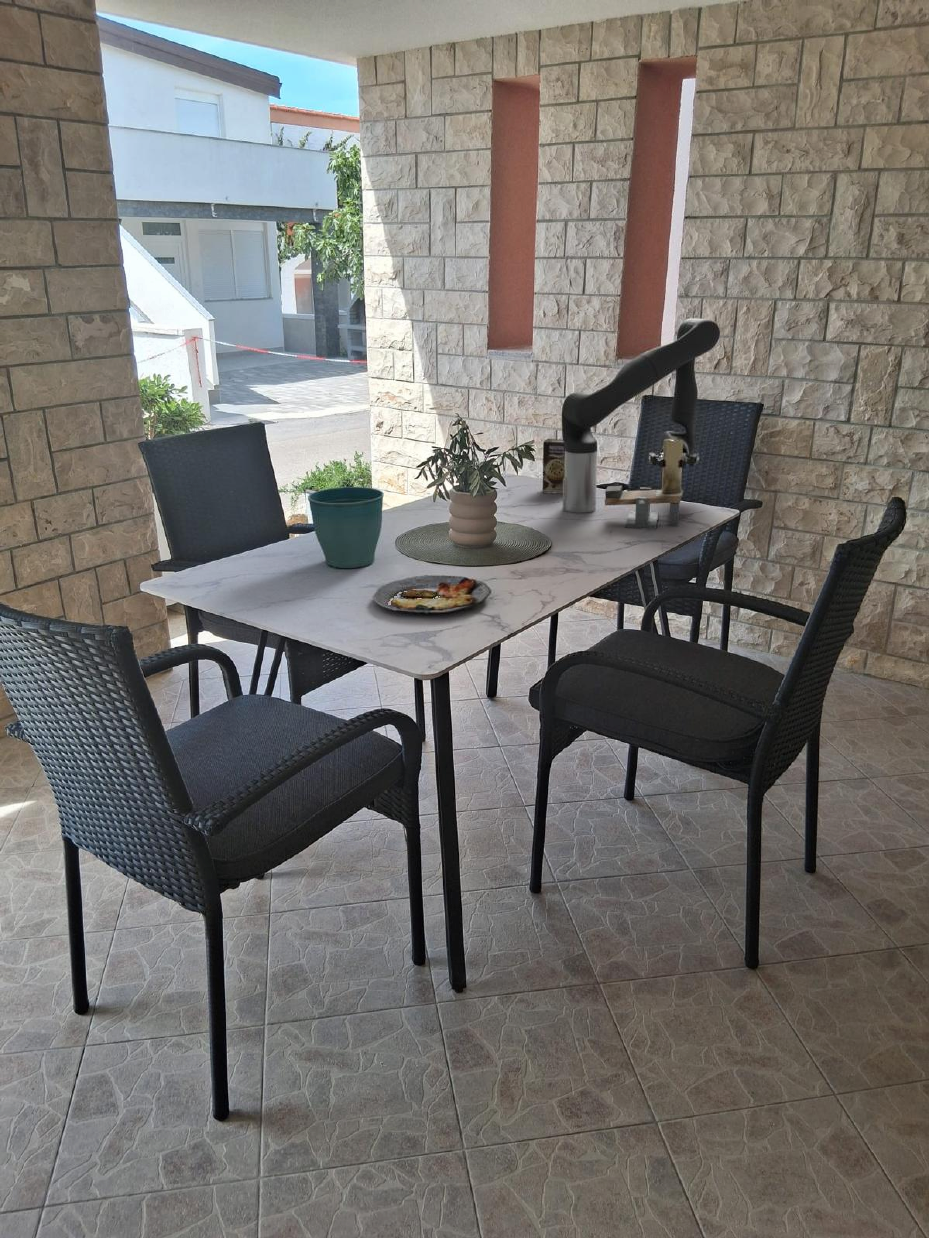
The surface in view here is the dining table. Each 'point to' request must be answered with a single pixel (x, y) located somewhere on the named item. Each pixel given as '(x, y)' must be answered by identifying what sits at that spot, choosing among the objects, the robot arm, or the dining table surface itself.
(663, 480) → the block
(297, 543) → the dining table surface
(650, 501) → the beam
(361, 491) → the flower pot
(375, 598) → the food plate
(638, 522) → the beam stand
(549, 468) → the cookie box
